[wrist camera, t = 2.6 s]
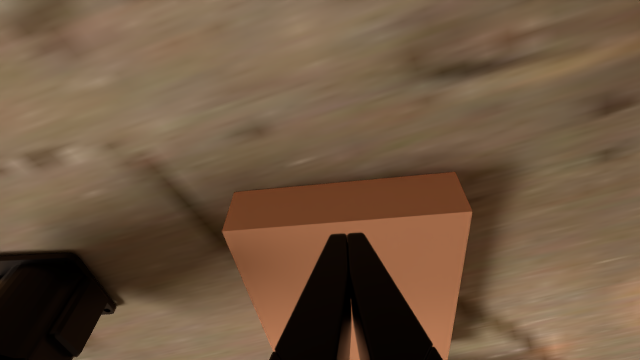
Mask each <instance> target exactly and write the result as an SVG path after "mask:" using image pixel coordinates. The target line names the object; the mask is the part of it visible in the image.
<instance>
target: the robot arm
mask: <svg viewBox="0 0 640 360" xmlns="http://www.w3.org/2000/svg"><path fill="white" fill-rule="evenodd" d="M351 306H352V309H351ZM115 309H116V305H115V304H114V302H113V301H112V300H111V298H110V297H109V296H108V295H107V293H106V292H105V291H104V289H103V288H102V287H101V286H100V284H99V283H98V282H97V280H96V279H95V278H94V277H93V275H92V274H91V273H90V271H89V270H88V269H87V267H86V266H85V265H84V264H83V262H82V261H81V260H80V258H79V257H78V256H76V255H75V254H72V253H56V254H37V255H17V256H0V360H72V359H73V357H77V356H79V354H80V353H81V352H82V350H83V348H84V346H85V344H86V342H87V340H88V339H89V337H90V335H91V333H92V331H93V329H94V327H95V325H96V323H97V322H98V320H99V318H100V316H101V315H103V314H113V313H114V311H115ZM352 318H353V325H354V331H355V336H356V342H357V347H358V353H359V358H360V360H443V359H442V357H441V356H440V354H439V352H438V351H437V349H436V348H435V347H433V343H432V341H431V340H430V338H429V337H428V335H427V333H426V332H425V330H424V329H423V327H422V325H421V324H420V322H419V321H418V319H417V317H416V316H415V314H414V313H413V311H412V309H411V308H410V306H409V305H408V303H407V301H406V300H405V298H404V297H403V295H402V293H401V292H400V290H399V289H398V287H397V285H396V284H395V282H394V281H393V279H392V277H391V276H390V274H389V273H388V271H387V269H386V268H385V266H384V265H383V263H382V261H381V260H380V258H379V257H378V255H377V253H376V252H375V250H374V249H373V247H372V245H371V244H370V242H369V241H368V239H367V237H366V236H365V234H364V233H362V232H358V233H349V234H348V235H346V234H345V233H339V234H331V235H330V236H329V238H328V240H327V242H326V244H325V246H324V248H323V250H322V252H321V254H320V256H319V258H318V260H317V263H316V265H315V267H314V269H313V271H312V273H311V275H310V277H309V279H308V281H307V283H306V285H305V287H304V289H303V291H302V293H301V295H300V298H299V300H298V302H297V304H296V306H295V308H294V310H293V312H292V314H291V316H290V318H289V320H288V322H287V324H286V326H285V328H284V330H283V333H282V335H281V337H280V339H279V341H278V343H277V345H276V347H275V352H273V353H272V355H271V357H270V359H269V360H350V345H351V329H352Z"/></svg>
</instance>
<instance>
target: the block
mask: <svg viewBox="0 0 640 360" xmlns="http://www.w3.org/2000/svg"><path fill="white" fill-rule="evenodd" d="M471 217H472V209H471V207H470V205H469V202H468V200H467V198H466V196H465V193H464V191H463V189H462V186H461V184H460V182H459V180H458V177H457V175H456V173H455V172H447V173H436V174H426V175H415V176H404V177H393V178H382V179H371V180H360V181H349V182H338V183H328V184H317V185H306V186H295V187H284V188H273V189H262V190H251V191H240V192H234V194H233V198H232V201H231V204H230V207H229V210H228V214H227V217H226V220H225V223H224V226H223V230H222V233H223V235H224V238H225V240H226V242H227V244H228V247H229V249H230V251H231V254H232V256H233V258H234V261H235V263H236V265H237V268H238V270H239V272H240V275H241V277H242V279H243V282H244V284H245V286H246V289H247V291H248V293H249V296H250V298H251V300H252V303H253V305H254V307H255V310H256V312H257V314H258V317H259V319H260V321H261V324H262V326H263V328H264V331H265V333H266V335H267V337H268V340H269V342H270V344H271V347H272V349H273V351H274V352H275V347H276V345H277V343H278V341H279V339H280V337H281V335H282V333H283V330H284V328H285V326H286V324H287V322H288V320H289V318H290V316H291V314H292V312H293V310H294V308H295V306H296V304H297V302H298V300H299V298H300V295H301V293H302V291H303V289H304V287H305V285H306V283H307V281H308V279H309V277H310V275H311V273H312V271H313V269H314V267H315V265H316V263H317V260H318V258H319V256H320V254H321V252H322V250H323V248H324V246H325V244H326V242H327V240H328V238H329V236H330V235H331V234H339V233H345V234H346V235H348V234H349V233H358V232H362V233H364V234H365V236H366V237H367V239H368V241H369V242H370V244H371V245H372V247H373V249H374V250H375V252H376V253H377V255H378V257H379V258H380V260H381V261H382V263H383V265H384V266H385V268H386V269H387V271H388V273H389V274H390V276H391V277H392V279H393V281H394V282H395V284H396V285H397V287H398V289H399V290H400V292H401V293H402V295H403V297H404V298H405V300H406V301H407V303H408V305H409V306H410V308H411V309H412V311H413V313H414V314H415V316H416V317H417V319H418V321H419V322H420V324H421V325H422V327H423V329H424V330H425V332H426V333H427V335H428V337H429V338H430V340H431V341H432V343H433V347H435V348H436V349H437V351H438V352H439V354H440V356H441V357H442V359H443V360H448V354H449V348H450V342H451V336H452V331H453V325H454V319H455V313H456V307H457V301H458V295H459V289H460V283H461V277H462V271H463V265H464V259H465V253H466V247H467V241H468V235H469V229H470V223H471ZM351 309H352V306H351ZM350 360H360V358H359V353H358V347H357V342H356V336H355V331H354V325H353V318H352V329H351V345H350Z"/></svg>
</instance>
